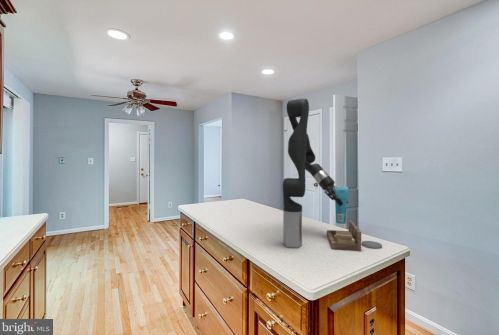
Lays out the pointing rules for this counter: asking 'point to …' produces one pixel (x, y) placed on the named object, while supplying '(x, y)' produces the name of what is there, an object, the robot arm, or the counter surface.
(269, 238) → the counter surface
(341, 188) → the tube
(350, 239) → the offcut stack
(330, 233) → the rack
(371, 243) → the coaster
